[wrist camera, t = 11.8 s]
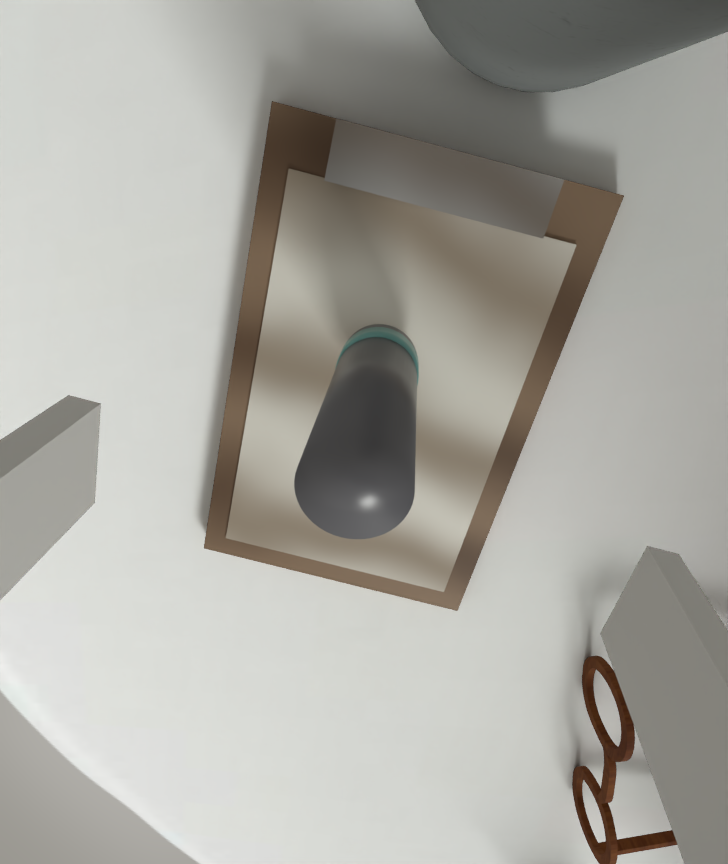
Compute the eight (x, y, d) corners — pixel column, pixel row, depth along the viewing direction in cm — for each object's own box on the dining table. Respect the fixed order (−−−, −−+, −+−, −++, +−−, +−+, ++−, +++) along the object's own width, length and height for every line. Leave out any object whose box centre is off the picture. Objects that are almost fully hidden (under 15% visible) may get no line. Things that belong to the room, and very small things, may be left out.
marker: (407, 396, 26) (398, 553, 16) (336, 378, 26) (282, 523, 16) (427, 327, 24) (432, 450, 14) (352, 307, 24) (305, 418, 14)
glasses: (583, 632, 32) (610, 712, 27) (852, 632, 31) (927, 716, 26) (568, 796, 37) (589, 885, 33) (795, 802, 36) (849, 896, 32)
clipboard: (456, 599, 31) (458, 627, 29) (208, 538, 31) (195, 563, 29) (617, 194, 23) (634, 198, 21) (276, 102, 22) (264, 98, 20)
